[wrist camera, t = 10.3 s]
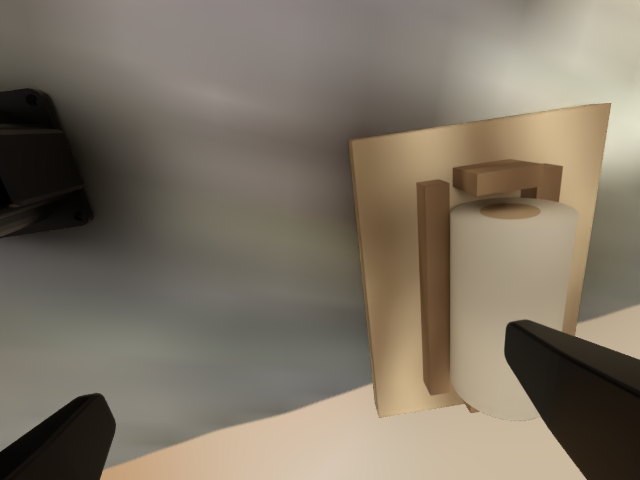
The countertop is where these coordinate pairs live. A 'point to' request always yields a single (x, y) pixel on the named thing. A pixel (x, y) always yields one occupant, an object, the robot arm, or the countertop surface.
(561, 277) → the roll
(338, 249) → the countertop surface
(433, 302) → the holder
